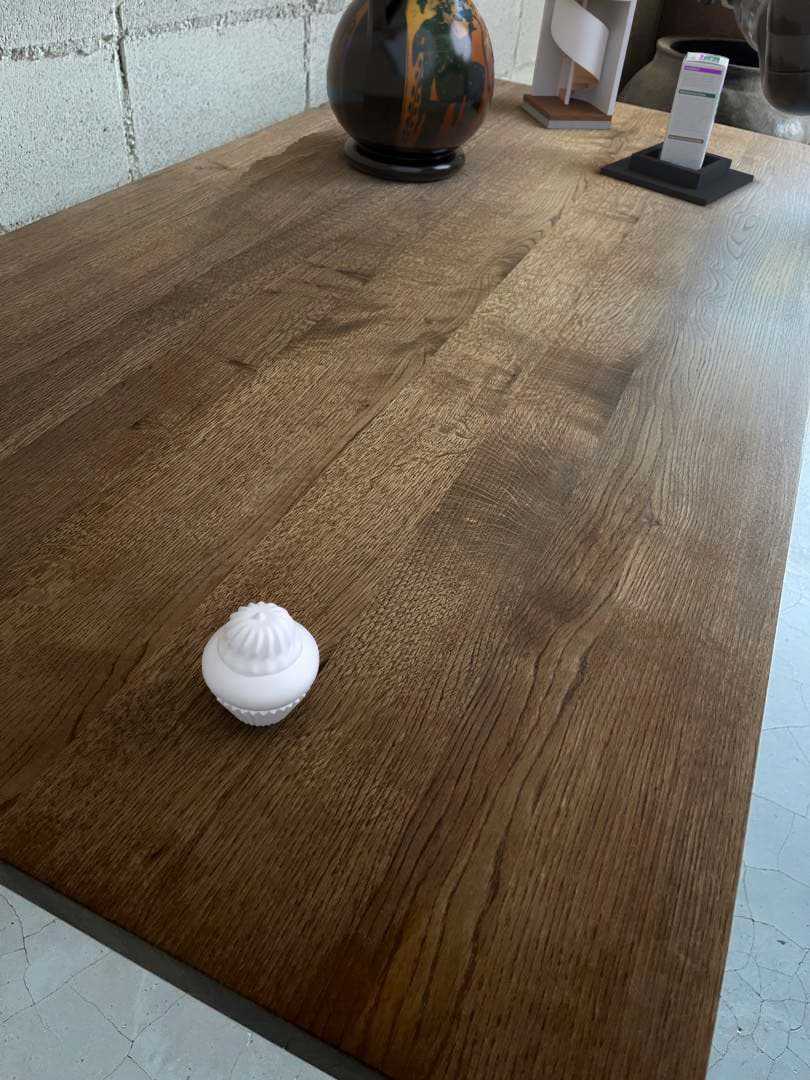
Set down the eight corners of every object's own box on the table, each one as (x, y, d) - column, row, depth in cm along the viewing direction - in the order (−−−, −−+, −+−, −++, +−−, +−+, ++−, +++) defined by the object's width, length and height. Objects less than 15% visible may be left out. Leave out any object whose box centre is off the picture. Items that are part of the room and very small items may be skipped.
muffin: (238, 767, 47) (233, 675, 43) (185, 690, 51) (175, 597, 46) (339, 717, 50) (345, 626, 46) (283, 647, 54) (282, 557, 49)
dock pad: (752, 181, 131) (759, 160, 129) (705, 206, 121) (711, 184, 119) (652, 151, 138) (657, 132, 136) (599, 173, 128) (604, 152, 126)
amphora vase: (432, 205, 113) (459, -66, 95) (290, 163, 120) (292, -95, 103) (510, 165, 127) (546, -76, 110) (379, 130, 135) (394, -101, 117)
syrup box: (697, 181, 126) (730, 65, 117) (654, 173, 127) (683, 57, 118) (700, 169, 130) (732, 56, 121) (659, 162, 131) (687, 49, 122)
